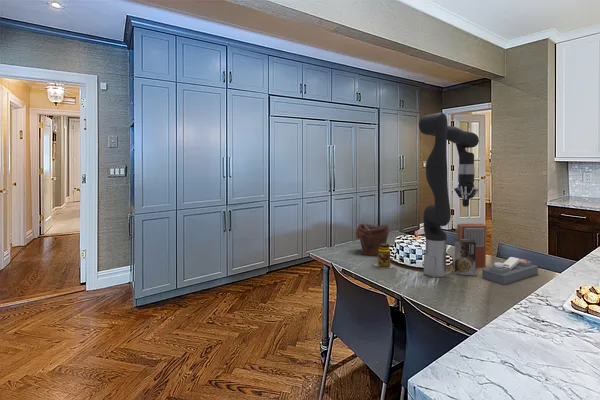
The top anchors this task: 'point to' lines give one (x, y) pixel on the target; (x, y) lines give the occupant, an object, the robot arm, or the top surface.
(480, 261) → the red upright rectangular box
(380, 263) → the condiment
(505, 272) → the switch console
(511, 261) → the rocker switch
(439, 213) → the robot arm
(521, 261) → the terracotta button
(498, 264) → the grey button
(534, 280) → the top surface
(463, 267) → the cookie box
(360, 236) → the brown plant pot
